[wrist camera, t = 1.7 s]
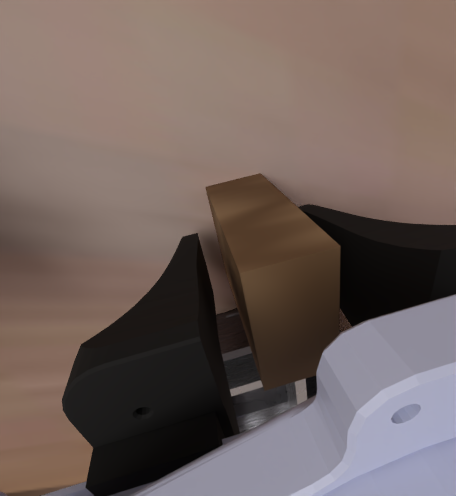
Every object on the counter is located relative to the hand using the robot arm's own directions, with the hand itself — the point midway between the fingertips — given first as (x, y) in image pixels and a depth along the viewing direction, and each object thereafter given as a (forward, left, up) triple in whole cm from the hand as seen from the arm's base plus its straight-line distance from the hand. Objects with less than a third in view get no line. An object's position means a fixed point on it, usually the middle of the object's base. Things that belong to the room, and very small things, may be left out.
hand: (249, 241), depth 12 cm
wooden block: (0, 0, -1) cm, 1 cm away
